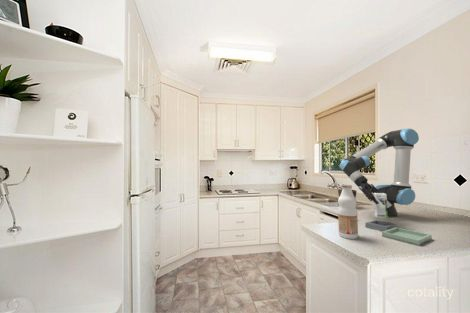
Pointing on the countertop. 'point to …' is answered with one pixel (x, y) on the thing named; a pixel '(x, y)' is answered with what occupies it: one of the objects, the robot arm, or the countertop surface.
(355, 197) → the plant pot
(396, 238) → the tray
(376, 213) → the syrup box
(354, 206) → the fruit juice
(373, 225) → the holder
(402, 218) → the countertop surface
